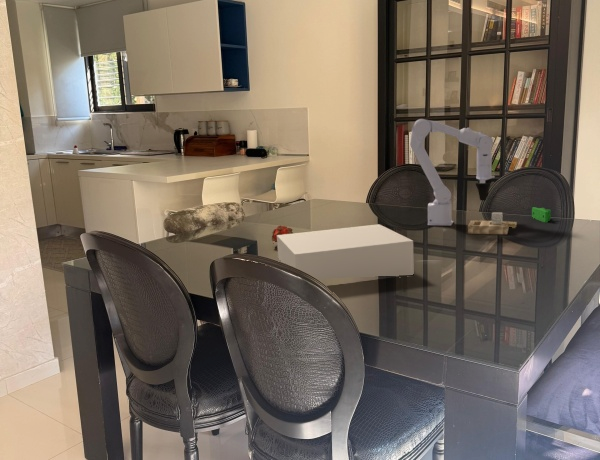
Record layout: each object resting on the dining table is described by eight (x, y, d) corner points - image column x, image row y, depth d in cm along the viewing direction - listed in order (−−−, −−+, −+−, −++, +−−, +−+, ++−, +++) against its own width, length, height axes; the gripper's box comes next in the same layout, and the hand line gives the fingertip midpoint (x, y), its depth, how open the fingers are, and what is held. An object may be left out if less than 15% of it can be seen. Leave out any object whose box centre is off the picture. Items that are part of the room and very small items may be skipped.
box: (278, 267, 185) (276, 235, 182) (380, 255, 192) (379, 224, 190) (297, 292, 158) (294, 254, 156) (413, 276, 165) (413, 240, 163)
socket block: (467, 233, 214) (467, 225, 214) (470, 227, 223) (470, 220, 223) (507, 234, 209) (507, 226, 208) (508, 228, 218) (508, 221, 217)
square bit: (491, 232, 214) (491, 214, 212) (492, 230, 217) (492, 212, 216) (501, 232, 212) (501, 214, 211) (502, 230, 216) (502, 212, 214)
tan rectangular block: (498, 228, 221) (498, 223, 221) (500, 226, 225) (500, 221, 224) (515, 228, 219) (515, 223, 218) (516, 226, 222) (516, 221, 222)
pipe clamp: (554, 222, 225) (554, 211, 224) (545, 223, 225) (545, 211, 224) (540, 217, 236) (540, 206, 235) (531, 217, 236) (532, 207, 235)
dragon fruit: (283, 246, 219) (288, 258, 207) (265, 236, 216) (268, 247, 205) (295, 228, 217) (300, 239, 206) (277, 217, 214) (281, 228, 203)
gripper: (493, 166, 219) (493, 201, 221) (495, 163, 232) (495, 195, 235) (474, 167, 221) (474, 201, 224) (477, 163, 235) (477, 195, 237)
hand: (483, 198), depth 230 cm, fingers open, 7 cm apart
